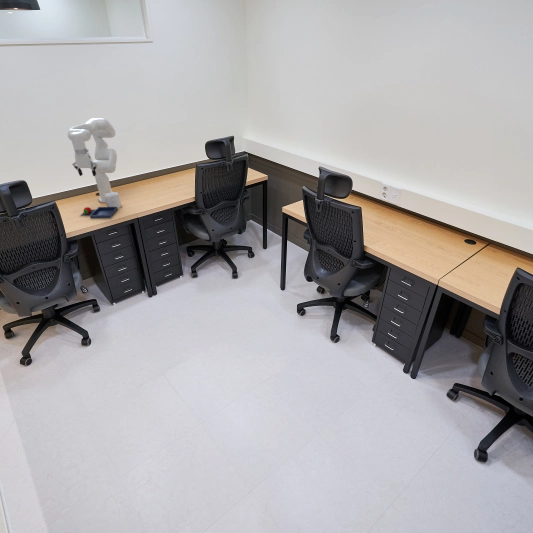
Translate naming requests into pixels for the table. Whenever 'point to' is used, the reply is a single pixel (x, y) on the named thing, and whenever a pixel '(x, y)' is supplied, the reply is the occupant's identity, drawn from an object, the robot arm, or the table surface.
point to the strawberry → (87, 210)
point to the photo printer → (113, 199)
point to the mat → (88, 214)
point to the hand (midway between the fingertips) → (88, 175)
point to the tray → (104, 212)
